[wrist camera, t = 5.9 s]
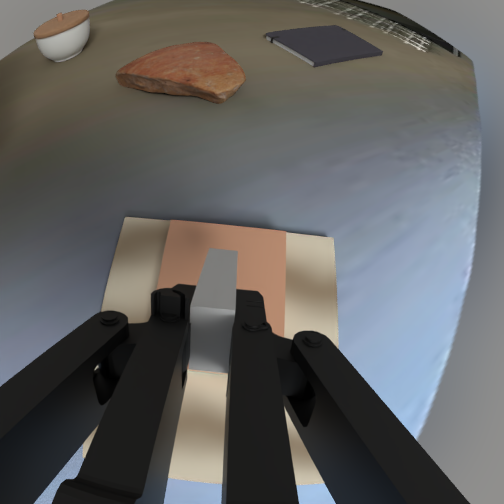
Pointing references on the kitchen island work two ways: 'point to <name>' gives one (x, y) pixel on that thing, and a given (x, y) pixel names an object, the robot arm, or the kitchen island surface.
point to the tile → (248, 263)
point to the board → (215, 385)
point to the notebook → (323, 44)
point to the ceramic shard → (185, 72)
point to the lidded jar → (63, 35)
